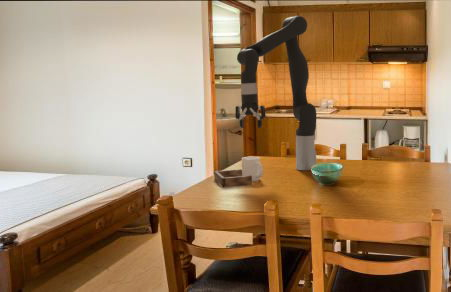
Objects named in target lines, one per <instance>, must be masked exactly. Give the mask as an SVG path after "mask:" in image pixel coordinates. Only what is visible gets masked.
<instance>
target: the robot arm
mask: <svg viewBox="0 0 451 292" xmlns="http://www.w3.org/2000/svg"><path fill="white" fill-rule="evenodd" d="M281 26H282V28H281V29H279V30H277V31H275V32H272V33H270V34H268V35H266V36H264V37H262V38H261V39H260V40H258V41H256V42H255V43H253V44H251V45H249V46H247V47H244V48H243V49H241V50H240V51H238V53H237V57H236V60H237V63H239V64H240V65H242V66H244V70H242V71H241V73H240V93H241V94H240V95H241V105H236V106H235V116H234V117H235V119H236V120H239V127H240V128H241V129H244V128H245V120H244V119H245V117H246V116H254V117H255V118H257V128H258V129H260V128H261V127H262V126H263V119H265V118H266V116H267V115H266V108H265V105H264V104H263V105H259V103H258V102H259V99H258V86H257V84H258V83H257V71H258V65H259V58H260V57H264V56H265V55H267V54H269V53H270V52H272V51H273V50H274V49H276V48H277V47H279V46H281V45H282V44H284V43H285V48H286V55H287V62H288V69H289V70H288V71H289V79H290V87H291V92H292V93H291V94H292V113H293V116H294V118H295V119H296V120H297V121H298V122H299V123H298V127H297V129H296V130H295V160H296V161H295V163H296V165H295V166H296V167H295V168H296V170H298V171H312V170H311V167H312V166H313V165H315V164H316V165H317V150H316V149H315V147H316V146H315V145H316V144H315V139H316V138H315V135H316V134H315V133H316V129H317V109H316V107H315V105H314V104H312V103H308V98H307V88H308V83H309V78H310V77H309V76H310V75H309V65H308V61H307V58H306V56H305V55H304V53H303V51H302V50H301V47H300V45H299V39H298V36H301V35H303V34H305V32H306V31H307V28H308V22H307V19H306V18H305V17H304V16H301V15H295V16H290V17H286V18H285V19H284V20H283V22H282V25H281ZM241 110H242V112H241ZM258 110H259V111H260V113H259V111H258Z"/></svg>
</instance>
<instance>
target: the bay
mask: <svg viewBox="0 0 451 292" xmlns="http://www.w3.org/2000/svg"><path fill="white" fill-rule="evenodd" d="M213 175H214V180H215V182H216V183H217V184H219V186H221V187H222V188H231V187H232V188H234V187H244V186H253V182H252V176H242V168H239V169H228V170H227V169H226V170H214V171H213Z"/></svg>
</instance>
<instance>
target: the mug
mask: <svg viewBox="0 0 451 292" xmlns="http://www.w3.org/2000/svg"><path fill="white" fill-rule="evenodd" d="M241 169H242V176H252V183H254V182H258V181H261V178H262V176H263V174H264V169H263V165H262V163H261V157H258V156H244V157H241Z"/></svg>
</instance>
